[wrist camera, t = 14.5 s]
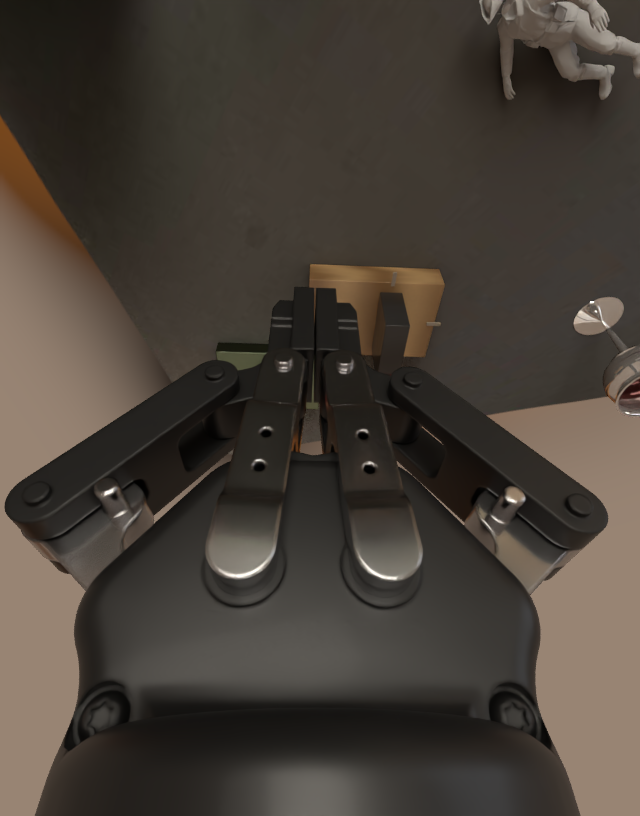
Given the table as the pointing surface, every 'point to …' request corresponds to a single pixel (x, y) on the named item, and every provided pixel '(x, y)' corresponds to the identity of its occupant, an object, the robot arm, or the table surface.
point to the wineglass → (629, 370)
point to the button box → (249, 359)
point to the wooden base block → (364, 293)
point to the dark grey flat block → (390, 333)
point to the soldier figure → (559, 37)
